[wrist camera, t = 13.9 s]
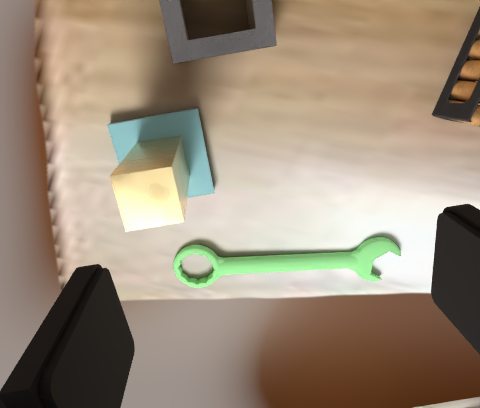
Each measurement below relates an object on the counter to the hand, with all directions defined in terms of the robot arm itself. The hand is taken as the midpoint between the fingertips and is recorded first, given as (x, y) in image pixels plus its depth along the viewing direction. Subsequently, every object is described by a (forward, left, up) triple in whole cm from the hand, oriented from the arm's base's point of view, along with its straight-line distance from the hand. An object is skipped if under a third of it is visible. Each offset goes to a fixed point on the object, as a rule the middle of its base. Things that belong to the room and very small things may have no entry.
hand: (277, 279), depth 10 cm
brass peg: (+2, -6, -24) cm, 25 cm away
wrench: (+16, +4, -26) cm, 31 cm away
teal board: (+2, -6, -25) cm, 26 cm away
